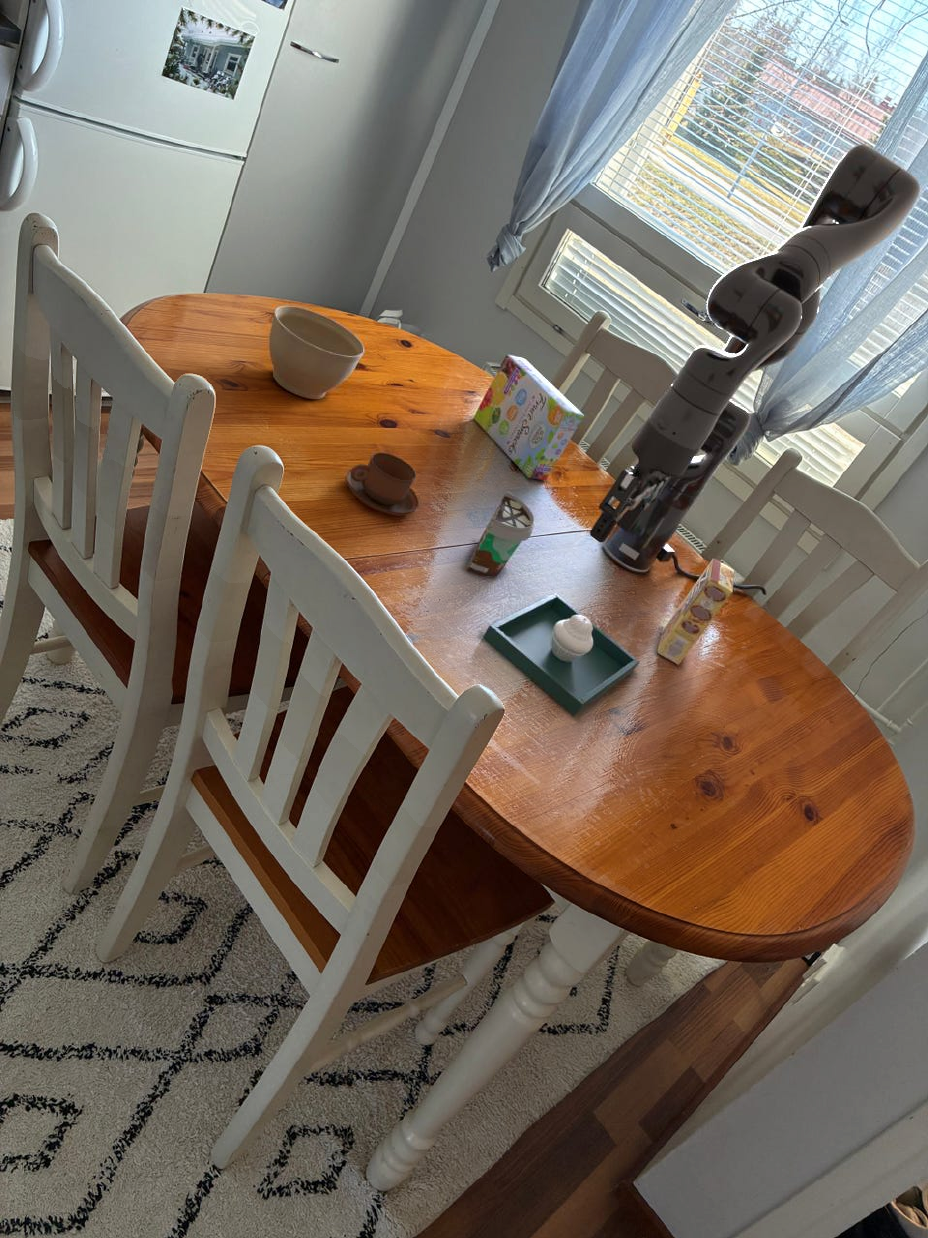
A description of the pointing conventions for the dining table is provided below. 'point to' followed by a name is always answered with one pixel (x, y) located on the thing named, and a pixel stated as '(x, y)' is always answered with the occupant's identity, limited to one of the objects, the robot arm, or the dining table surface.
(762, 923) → the dining table surface
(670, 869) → the dining table surface
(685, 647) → the candy box
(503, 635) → the tray
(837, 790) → the dining table surface
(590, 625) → the muffin
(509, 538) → the food container
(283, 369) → the planter bowl
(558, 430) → the snack box
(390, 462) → the cup and saucer
